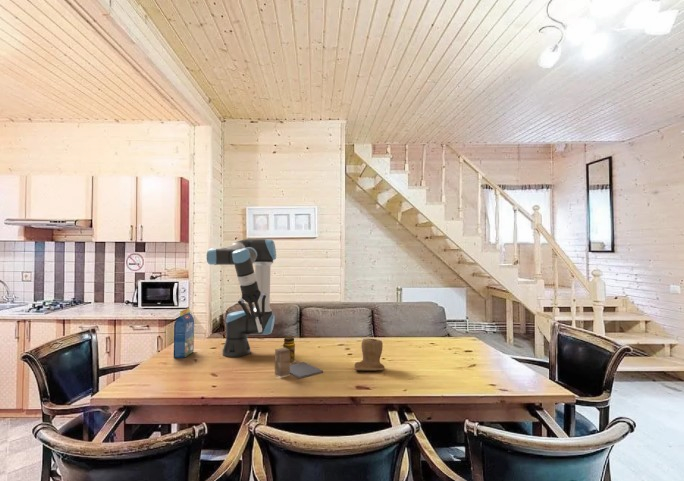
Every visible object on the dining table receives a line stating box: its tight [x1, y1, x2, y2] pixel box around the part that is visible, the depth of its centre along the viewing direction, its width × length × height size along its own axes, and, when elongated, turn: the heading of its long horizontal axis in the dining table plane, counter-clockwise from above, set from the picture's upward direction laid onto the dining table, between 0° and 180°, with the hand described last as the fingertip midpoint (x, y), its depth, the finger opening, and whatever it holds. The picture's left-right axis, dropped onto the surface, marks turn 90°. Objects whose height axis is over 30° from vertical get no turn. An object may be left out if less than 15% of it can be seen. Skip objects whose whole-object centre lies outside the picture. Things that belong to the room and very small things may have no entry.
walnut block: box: [274, 347, 291, 379], centre depth 166 cm, size 5×5×12 cm
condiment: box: [282, 336, 298, 364], centre depth 188 cm, size 7×8×12 cm
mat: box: [290, 361, 324, 379], centre depth 173 cm, size 17×14×1 cm
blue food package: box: [173, 307, 195, 359], centre depth 197 cm, size 6×12×25 cm, turn 1°
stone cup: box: [353, 337, 386, 372], centre depth 176 cm, size 15×12×15 cm
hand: (260, 330), depth 164 cm, fingers closed
